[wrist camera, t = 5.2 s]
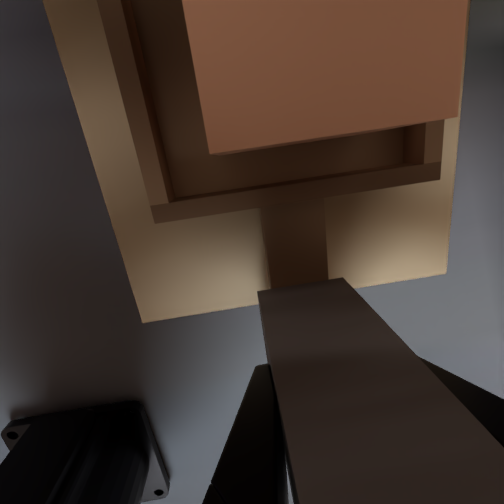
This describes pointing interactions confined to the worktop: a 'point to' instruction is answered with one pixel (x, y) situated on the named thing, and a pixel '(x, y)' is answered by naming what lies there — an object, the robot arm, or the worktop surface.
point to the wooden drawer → (308, 283)
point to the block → (322, 67)
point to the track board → (240, 222)
